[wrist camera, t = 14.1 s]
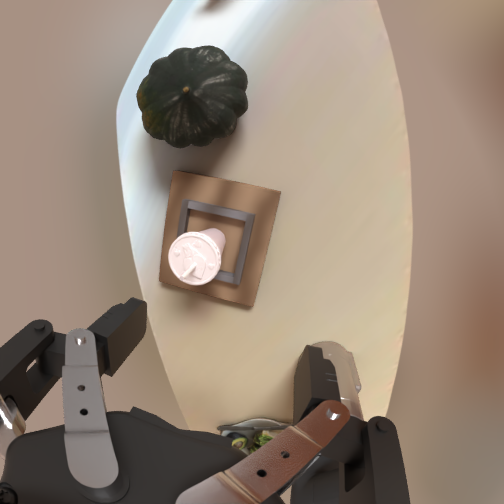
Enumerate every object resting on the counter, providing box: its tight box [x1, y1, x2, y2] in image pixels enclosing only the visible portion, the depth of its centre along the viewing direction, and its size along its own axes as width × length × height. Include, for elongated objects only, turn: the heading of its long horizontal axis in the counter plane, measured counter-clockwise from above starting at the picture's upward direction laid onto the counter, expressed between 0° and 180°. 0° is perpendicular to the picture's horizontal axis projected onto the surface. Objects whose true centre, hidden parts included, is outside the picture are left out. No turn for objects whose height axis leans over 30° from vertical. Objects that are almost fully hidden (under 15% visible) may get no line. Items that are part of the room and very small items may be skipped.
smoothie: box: [168, 228, 226, 285], centre depth 34 cm, size 6×6×14 cm
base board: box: [159, 171, 281, 307], centre depth 41 cm, size 16×18×4 cm
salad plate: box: [217, 418, 293, 456], centre depth 54 cm, size 19×18×5 cm
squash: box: [136, 46, 248, 148], centre depth 32 cm, size 14×15×15 cm
